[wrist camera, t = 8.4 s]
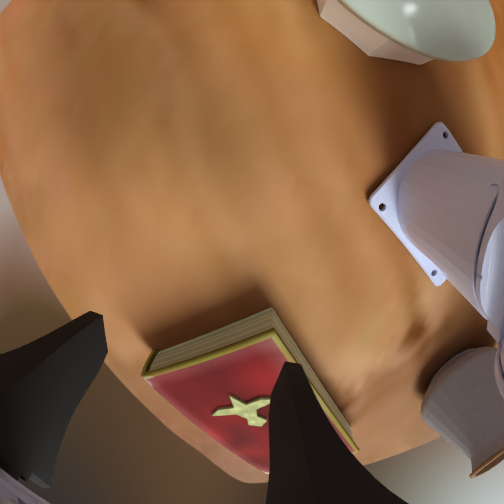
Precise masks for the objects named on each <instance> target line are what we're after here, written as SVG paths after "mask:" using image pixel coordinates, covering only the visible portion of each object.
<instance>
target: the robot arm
mask: <svg viewBox="0 0 504 504" xmlns="http://www.w3.org/2000/svg"><path fill="white" fill-rule="evenodd" d="M443 132H445V135H446V137H445V138H444V137H443ZM368 201H369V205H370V206H371V207H372V208H373V210H374V211H375V212H376V213H377V214H378V215H379V216H380V217H381V219H382V220H383V221H384V222H385V223H386V224H387V225H388V227H389V228H390V229H391V230H392V231H393V232H394V234H395V235H396V236H397V237H398V238H399V240H400V241H401V242H402V243H403V245H404V246H405V247H406V248H407V249H408V251H409V252H410V253H411V255H412V256H413V257H414V258H415V260H416V261H417V262H418V264H419V265H420V266H421V267H422V269H423V270H424V271H425V273H426V274H427V276H428V277H429V278H430V280H431V281H432V282H433V284H434V285H435V286H440V285H441V284H442V283H443V282H444V281H445V280H446V279H447V280H448V281H449V282H450V283H451V284H452V285H453V286H454V287H455V288H456V289H457V290H458V291H459V292H460V293H461V294H462V295H463V296H464V297H465V298H466V299H467V300H468V301H469V302H470V303H471V304H472V306H473V307H474V308H475V309H476V310H477V311H478V312H479V313H480V314H481V315H482V316H483V317H484V318H485V319H486V320H487V322H488V324H487V331H488V332H489V333H490V334H491V336H492V337H493V338H494V339H495V340H496V342H497V343H498V344H499V345H498V348H497V351H496V355H495V364H494V370H495V378H496V383H497V386H498V388H499V391H500V393H501V395H502V397H503V398H504V160H499V159H495V158H490V157H485V156H480V155H475V154H469V153H463V151H462V149H461V148H460V146H459V145H458V143H457V142H456V140H455V139H454V137H453V136H452V134H451V133H450V131H449V130H448V128H447V127H446V126H445V124H444V123H442V122H436V123H435V124H434V125H433V126H432V127H431V128H430V130H429V131H428V132H427V133H426V134H425V135H424V136H423V138H422V139H421V140H420V141H419V142H418V143H417V145H416V146H415V147H414V148H413V149H412V150H411V151H410V152H409V154H408V155H407V156H406V157H405V158H404V159H403V160H402V161H401V163H400V164H399V165H398V166H397V167H396V168H395V169H394V170H393V171H392V173H391V174H390V175H389V176H388V177H387V178H386V179H385V180H384V181H383V182H382V183H381V185H380V186H379V187H378V188H377V189H376V190H375V191H374V192H373V193H372V194H371V195H370V197H369V200H368ZM381 203H383V204H384V207H383V209H381V210H379V205H380V204H381ZM433 270H434V273H432V271H433ZM431 273H432V274H431ZM107 352H108V349H107V343H106V337H105V330H104V322H103V315H100V314H98V313H95V312H92V311H89V312H87V313H85V314H83V315H81V316H80V317H78V318H76V319H74V320H72V321H71V322H69V323H67V324H65V325H64V326H62V327H60V328H58V329H56V330H54V331H53V332H51V333H49V334H47V335H45V336H43V337H41V338H39V339H37V340H35V341H33V342H31V343H29V344H27V345H24V346H22V347H20V348H17V349H14V350H12V351H9V352H6V353H3V354H0V504H50V503H48V502H47V501H45V500H44V499H42V498H40V497H39V496H37V495H36V494H34V493H33V492H31V491H30V490H29V489H27V488H26V487H25V486H23V485H22V484H20V483H19V482H18V479H19V477H20V478H21V479H23V480H24V481H26V482H27V481H28V480H29V479H30V480H32V481H33V482H34V483H36V484H37V485H39V486H41V487H42V488H49V487H51V480H52V475H53V470H54V466H55V462H56V458H57V455H58V451H59V448H60V445H61V442H62V439H63V436H64V433H65V431H66V428H67V426H68V424H69V421H70V419H71V417H72V415H73V413H74V411H75V409H76V407H77V406H78V404H79V402H80V401H81V399H82V398H83V396H84V394H85V393H86V391H87V389H88V388H89V386H90V385H91V383H92V381H93V380H94V378H95V377H96V375H97V373H98V372H99V370H100V368H101V366H102V364H103V361H104V359H105V357H106V355H107ZM269 459H270V467H269V481H268V491H267V498H266V504H408V503H407V502H405V501H403V500H402V499H401V498H399V497H398V496H396V495H395V494H394V493H392V492H391V491H390V490H388V489H387V488H386V487H385V486H383V485H382V484H381V483H380V482H379V481H378V480H376V479H375V478H374V477H373V476H372V475H371V473H370V472H369V471H368V470H367V469H365V467H364V466H363V465H362V464H361V463H360V462H359V461H358V460H357V459H356V457H355V456H354V455H353V454H352V453H351V451H350V450H349V449H348V448H347V446H346V445H345V444H344V442H343V441H342V439H341V438H340V437H339V435H338V434H337V432H336V431H335V429H334V427H333V426H332V424H331V423H330V421H329V419H328V418H327V416H326V414H325V412H324V410H323V409H322V407H321V405H320V403H319V401H318V399H317V397H316V395H315V393H314V391H313V389H312V387H311V385H310V383H309V381H308V378H307V376H306V374H305V372H304V369H303V367H302V365H301V364H299V363H292V362H286V361H285V362H284V364H283V367H282V369H281V372H280V374H279V376H278V379H277V381H276V383H275V385H274V388H273V390H272V392H271V397H270V406H269Z"/></svg>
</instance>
